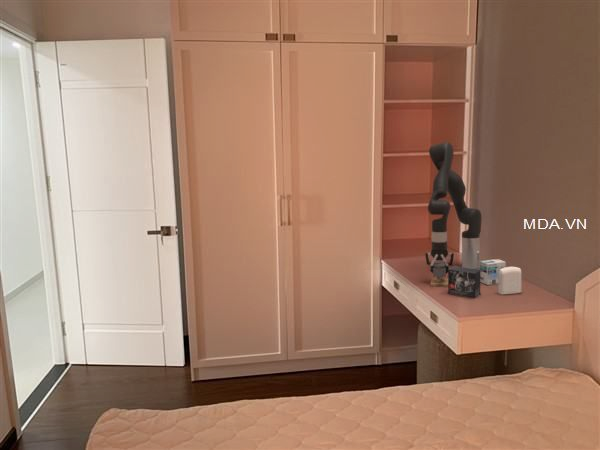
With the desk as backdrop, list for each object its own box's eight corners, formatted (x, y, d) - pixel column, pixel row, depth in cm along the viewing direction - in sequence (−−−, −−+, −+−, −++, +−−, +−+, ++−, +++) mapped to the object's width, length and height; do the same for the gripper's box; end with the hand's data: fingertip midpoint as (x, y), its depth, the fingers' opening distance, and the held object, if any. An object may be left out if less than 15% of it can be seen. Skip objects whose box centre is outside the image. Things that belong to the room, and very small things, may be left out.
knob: (445, 273, 242) (445, 260, 241) (445, 276, 237) (445, 262, 236) (433, 273, 244) (433, 259, 243) (433, 276, 239) (433, 262, 237)
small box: (447, 293, 225) (447, 269, 223) (454, 290, 230) (453, 265, 228) (475, 298, 216) (475, 273, 214) (481, 294, 221) (481, 269, 219)
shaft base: (453, 280, 244) (453, 271, 244) (453, 287, 234) (453, 277, 233) (431, 280, 248) (430, 271, 247) (430, 286, 237) (430, 277, 237)
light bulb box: (487, 285, 234) (487, 264, 232) (478, 281, 240) (479, 261, 239) (506, 282, 237) (506, 261, 235) (497, 279, 243) (497, 258, 241)
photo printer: (501, 295, 218) (501, 269, 216) (496, 292, 222) (496, 266, 220) (522, 293, 219) (523, 267, 217) (517, 290, 223) (518, 265, 221)
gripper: (454, 238, 239) (454, 271, 242) (424, 238, 243) (425, 270, 246) (454, 241, 232) (454, 275, 235) (424, 241, 236) (424, 274, 239)
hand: (439, 272), depth 240 cm, fingers closed on knob, 6 cm apart
